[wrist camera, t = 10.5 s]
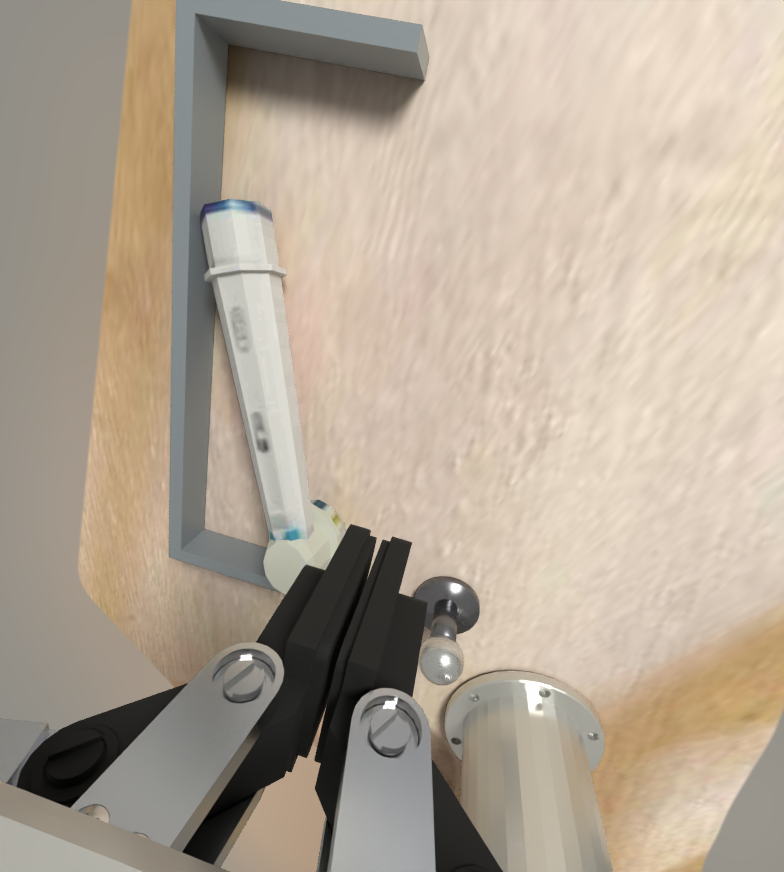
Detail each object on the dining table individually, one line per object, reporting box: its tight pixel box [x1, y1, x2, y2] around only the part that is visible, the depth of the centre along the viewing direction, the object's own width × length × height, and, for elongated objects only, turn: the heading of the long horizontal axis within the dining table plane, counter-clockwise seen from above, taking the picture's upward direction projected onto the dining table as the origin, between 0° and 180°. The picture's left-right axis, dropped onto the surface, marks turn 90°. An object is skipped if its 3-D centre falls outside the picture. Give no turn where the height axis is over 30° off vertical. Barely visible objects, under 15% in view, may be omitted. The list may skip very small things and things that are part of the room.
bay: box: [169, 0, 429, 593], centre depth 27 cm, size 34×12×3 cm, turn 168°
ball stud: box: [415, 576, 479, 685], centre depth 30 cm, size 5×5×7 cm
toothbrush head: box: [199, 199, 346, 594], centre depth 28 cm, size 5×7×25 cm
